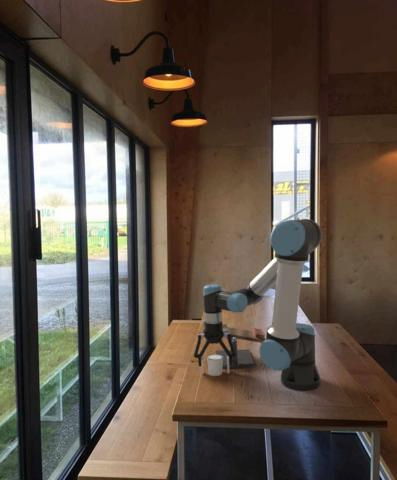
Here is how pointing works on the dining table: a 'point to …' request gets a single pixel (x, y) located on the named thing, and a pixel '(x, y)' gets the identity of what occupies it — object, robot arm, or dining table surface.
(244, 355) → the stand
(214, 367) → the shot glass
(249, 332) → the beam
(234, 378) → the dining table surface
